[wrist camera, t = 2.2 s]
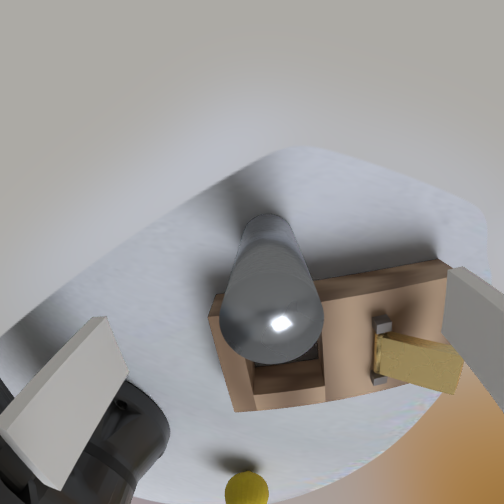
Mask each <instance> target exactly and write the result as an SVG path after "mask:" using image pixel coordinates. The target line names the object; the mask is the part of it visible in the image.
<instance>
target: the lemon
mask: <svg viewBox="0 0 504 504" xmlns="http://www.w3.org/2000/svg"><path fill="white" fill-rule="evenodd" d="M268 497H269V491H268V486H267V483H266V482H265V480H264V479H263V478H262V477H261V476H259V475H258V474H256V473H253V472H251V471H245V472H241V473H238V474H236V475H234V476H233V477H232V478H231V479H230V480H229V481H228V483H227V485H226V489H225V501H226V504H267V501H268Z"/></svg>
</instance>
